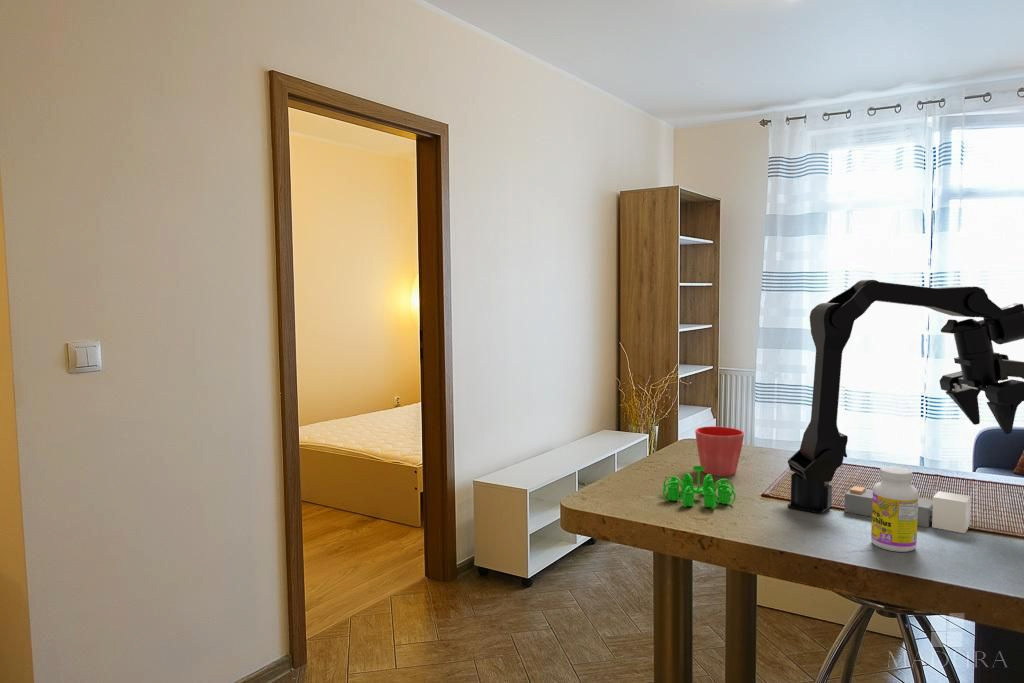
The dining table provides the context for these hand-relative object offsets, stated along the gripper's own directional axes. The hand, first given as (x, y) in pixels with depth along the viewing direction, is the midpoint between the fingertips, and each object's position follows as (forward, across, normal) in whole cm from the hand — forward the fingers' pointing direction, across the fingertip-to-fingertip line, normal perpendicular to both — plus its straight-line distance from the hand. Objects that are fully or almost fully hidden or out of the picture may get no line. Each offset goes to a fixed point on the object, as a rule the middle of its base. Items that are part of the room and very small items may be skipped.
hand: (991, 428), depth 136 cm
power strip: (+10, -5, +25) cm, 27 cm away
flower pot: (+4, +27, +47) cm, 54 cm away
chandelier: (+2, +5, +57) cm, 57 cm away
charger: (+11, -10, +18) cm, 24 cm away
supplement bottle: (+8, -21, +32) cm, 39 cm away
